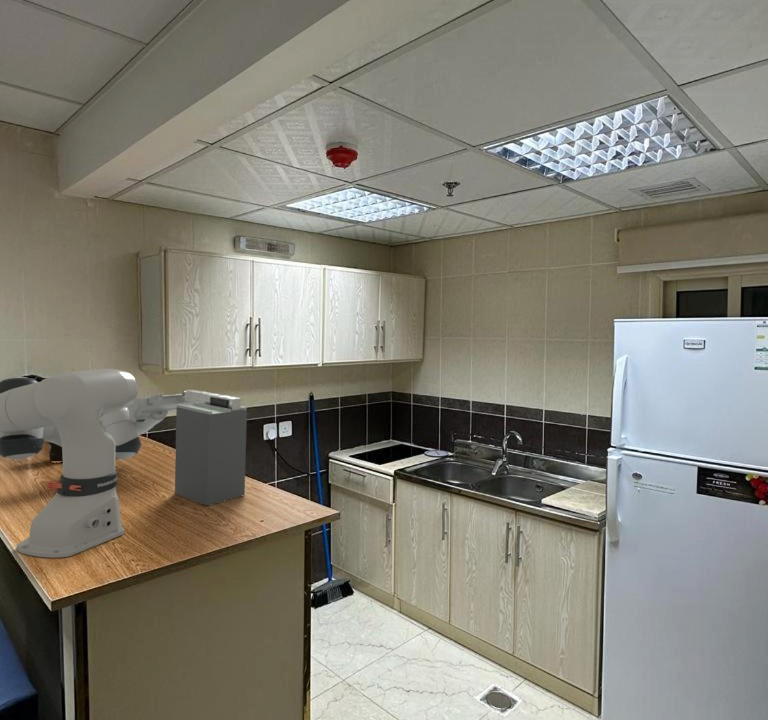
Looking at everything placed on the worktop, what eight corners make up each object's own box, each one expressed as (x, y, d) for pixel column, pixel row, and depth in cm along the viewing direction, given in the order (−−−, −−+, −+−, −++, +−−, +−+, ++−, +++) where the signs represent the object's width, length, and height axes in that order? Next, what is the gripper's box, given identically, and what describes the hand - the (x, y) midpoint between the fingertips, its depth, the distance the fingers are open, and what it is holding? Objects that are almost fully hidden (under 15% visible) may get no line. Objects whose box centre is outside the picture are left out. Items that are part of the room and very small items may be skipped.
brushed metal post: (240, 410, 154) (240, 398, 154) (230, 411, 152) (230, 399, 151) (193, 400, 169) (193, 389, 169) (183, 401, 166) (183, 390, 166)
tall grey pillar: (244, 495, 157) (246, 407, 155) (206, 506, 146) (209, 411, 145) (212, 484, 166) (214, 400, 165) (174, 493, 156) (176, 404, 154)
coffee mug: (72, 463, 183) (72, 435, 182) (43, 464, 180) (43, 436, 179) (78, 455, 194) (78, 428, 193) (51, 456, 190) (51, 429, 190)
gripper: (183, 415, 189) (203, 399, 181) (127, 422, 172) (147, 406, 165) (178, 399, 190) (198, 383, 183) (122, 404, 174) (142, 387, 166)
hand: (173, 394), depth 174 cm, fingers open, 8 cm apart
